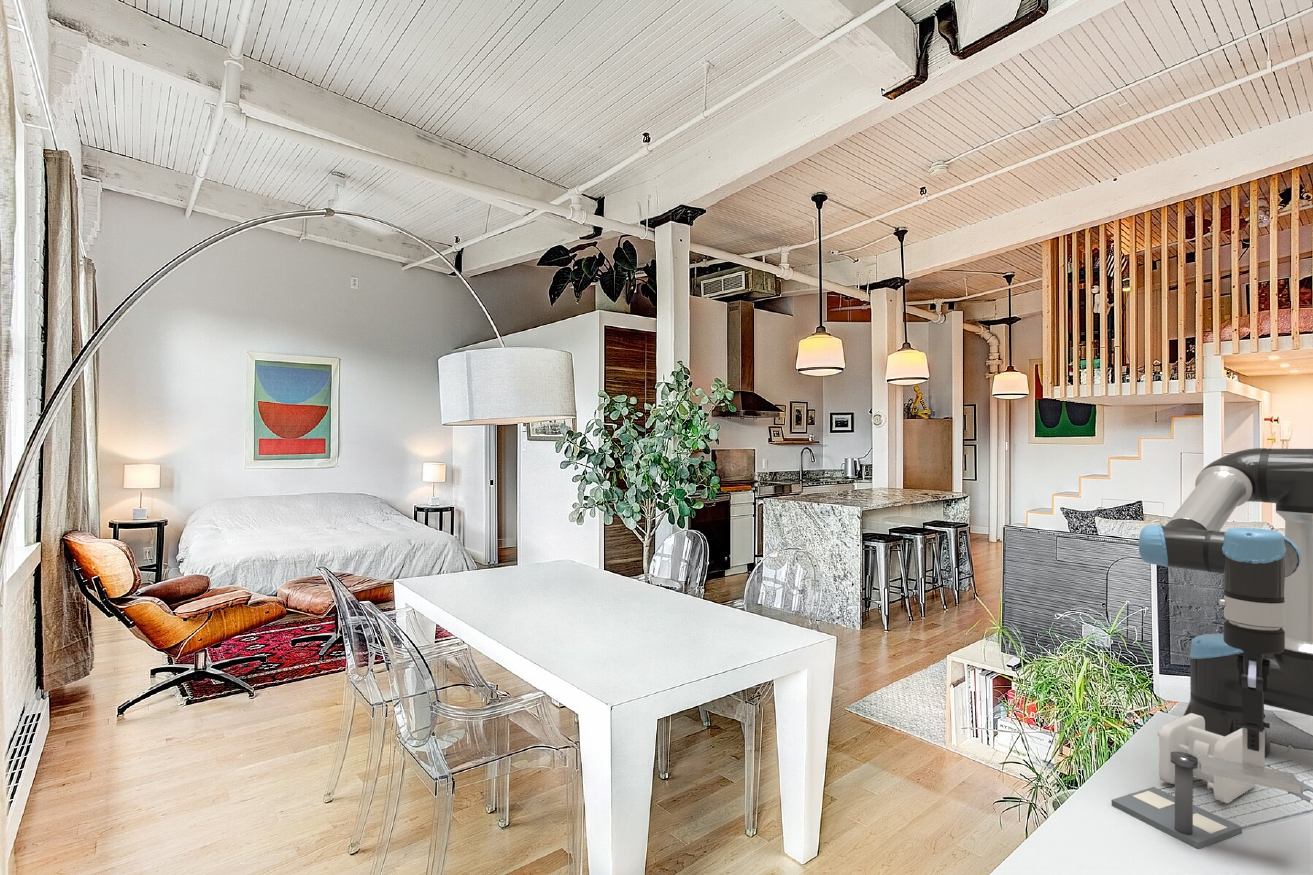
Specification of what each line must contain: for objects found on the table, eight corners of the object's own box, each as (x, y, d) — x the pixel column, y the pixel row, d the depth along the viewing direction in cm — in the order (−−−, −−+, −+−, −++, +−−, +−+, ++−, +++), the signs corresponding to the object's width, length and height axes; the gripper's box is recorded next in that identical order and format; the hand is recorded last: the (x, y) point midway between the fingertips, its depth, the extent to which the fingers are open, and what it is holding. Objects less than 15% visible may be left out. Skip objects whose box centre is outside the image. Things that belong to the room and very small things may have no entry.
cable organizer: (1222, 810, 121) (1222, 746, 121) (1155, 784, 130) (1155, 724, 130) (1257, 789, 128) (1258, 728, 128) (1191, 765, 137) (1192, 708, 137)
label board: (1153, 791, 127) (1154, 728, 127) (1241, 832, 114) (1242, 761, 114) (1111, 805, 122) (1111, 739, 122) (1198, 848, 109) (1198, 775, 109)
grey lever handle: (1293, 780, 107) (1293, 773, 107) (1301, 793, 103) (1301, 786, 103) (1169, 755, 116) (1169, 748, 116) (1171, 766, 112) (1171, 758, 112)
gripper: (1226, 611, 117) (1226, 746, 118) (1220, 627, 108) (1220, 773, 108) (1285, 619, 112) (1285, 760, 113) (1284, 637, 103) (1284, 790, 103)
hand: (1253, 766), depth 110 cm, fingers closed
